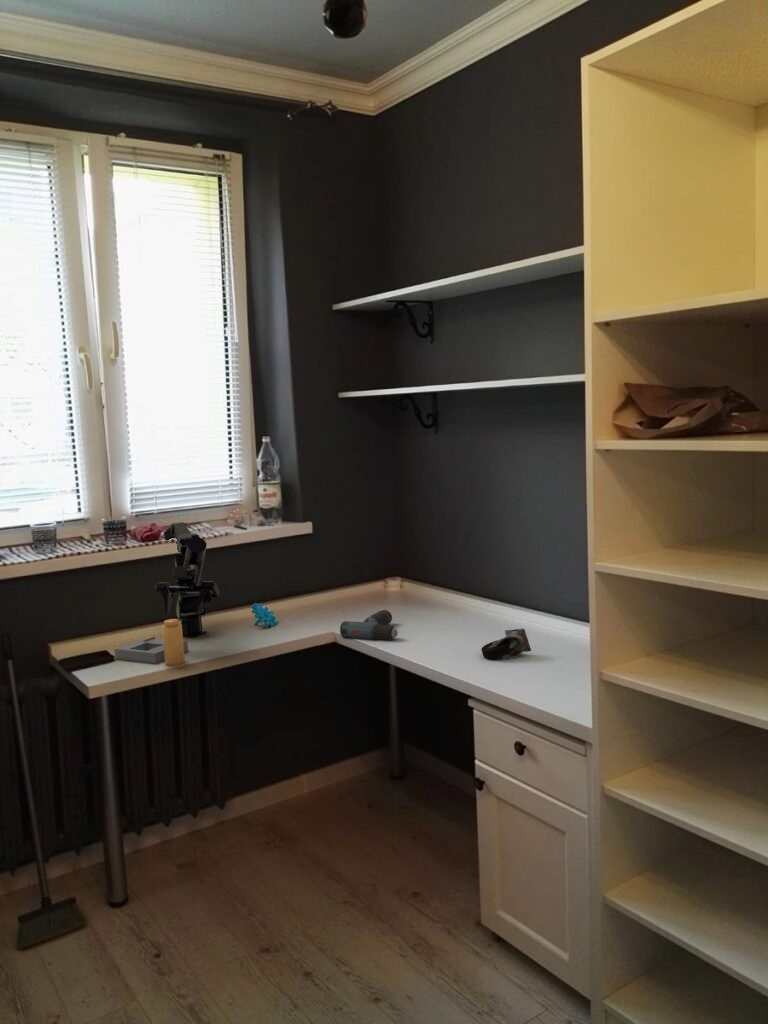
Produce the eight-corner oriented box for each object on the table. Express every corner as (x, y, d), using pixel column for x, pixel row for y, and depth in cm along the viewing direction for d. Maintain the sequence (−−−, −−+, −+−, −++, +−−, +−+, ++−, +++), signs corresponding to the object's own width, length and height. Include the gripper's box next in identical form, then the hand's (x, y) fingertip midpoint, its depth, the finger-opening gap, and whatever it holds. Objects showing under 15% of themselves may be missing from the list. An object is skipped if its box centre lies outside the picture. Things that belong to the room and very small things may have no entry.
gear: (266, 625, 283) (248, 602, 286) (255, 637, 285) (237, 614, 288) (284, 621, 293) (266, 600, 296) (273, 633, 295) (256, 611, 298)
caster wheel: (480, 667, 239) (499, 653, 247) (514, 665, 232) (532, 650, 239) (473, 644, 239) (492, 631, 246) (506, 641, 231) (525, 627, 239)
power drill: (422, 627, 277) (393, 644, 260) (370, 623, 286) (339, 639, 268) (421, 611, 277) (392, 626, 259) (369, 607, 285) (338, 622, 268)
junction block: (148, 646, 271) (147, 634, 271) (188, 650, 264) (187, 638, 263) (115, 658, 259) (114, 646, 259) (155, 663, 251) (154, 650, 251)
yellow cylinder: (174, 659, 255) (170, 617, 254) (188, 660, 252) (185, 618, 251) (160, 664, 250) (157, 622, 249) (175, 666, 248) (172, 623, 246)
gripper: (154, 556, 262) (142, 600, 253) (213, 554, 259) (203, 598, 250) (166, 576, 271) (155, 620, 261) (223, 575, 268) (214, 618, 259)
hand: (181, 614), depth 258 cm, fingers open, 9 cm apart
